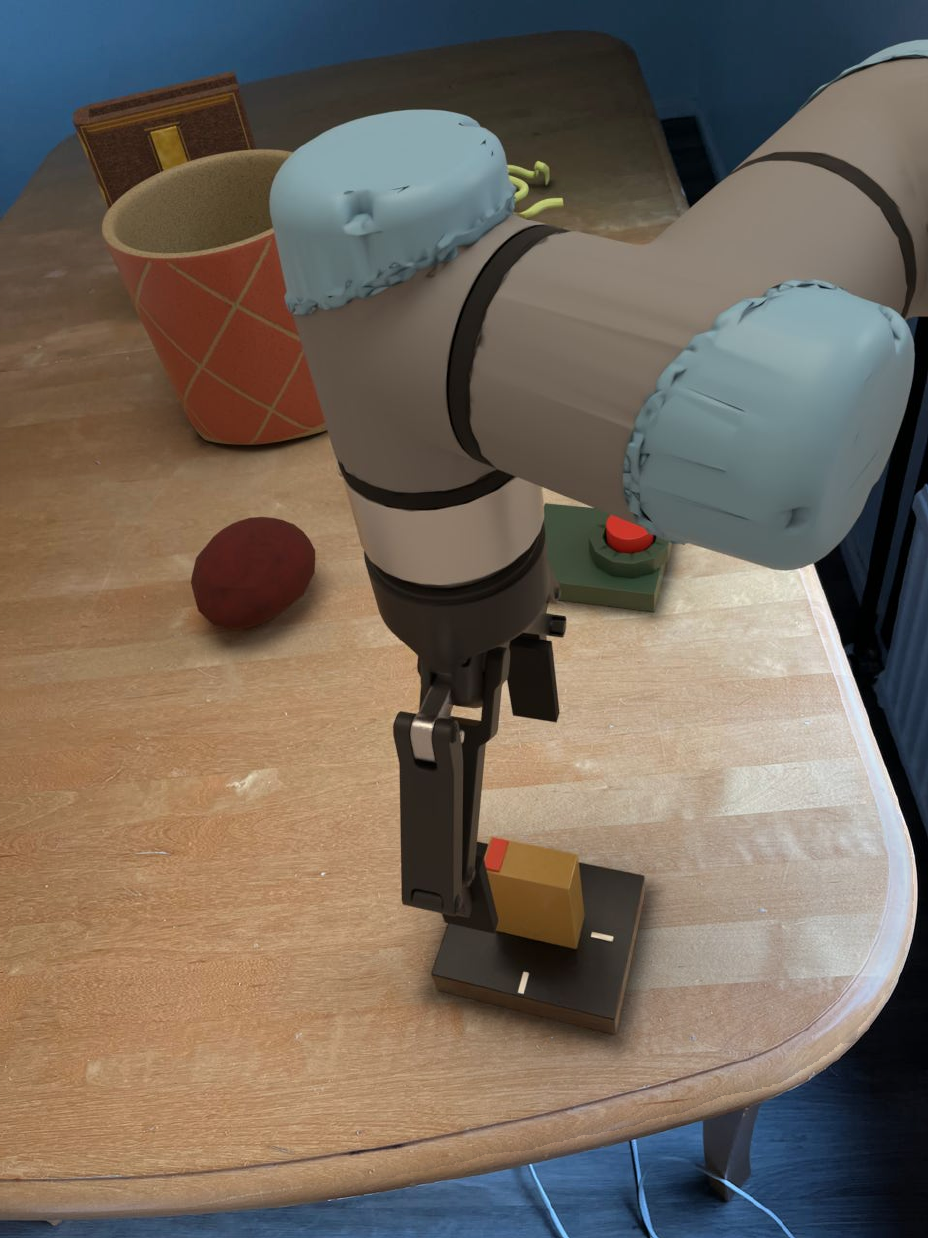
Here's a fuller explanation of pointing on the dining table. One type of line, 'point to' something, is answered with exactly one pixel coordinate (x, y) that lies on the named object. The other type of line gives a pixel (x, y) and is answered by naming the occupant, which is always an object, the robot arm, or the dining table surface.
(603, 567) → the dark green flat block
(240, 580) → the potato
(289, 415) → the planter
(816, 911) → the dining table surface
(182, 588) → the dining table surface
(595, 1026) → the plate
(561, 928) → the lock turn
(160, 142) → the book
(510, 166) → the figurine
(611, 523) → the bell button
